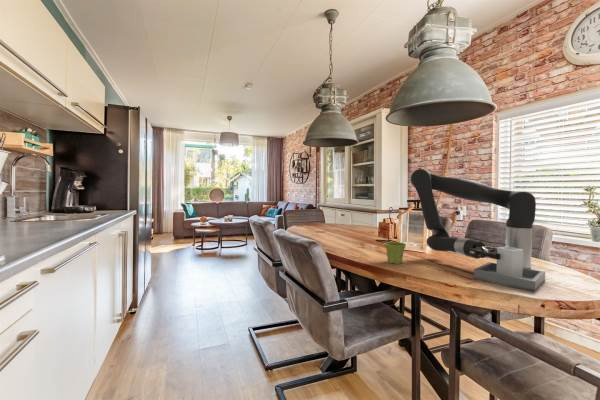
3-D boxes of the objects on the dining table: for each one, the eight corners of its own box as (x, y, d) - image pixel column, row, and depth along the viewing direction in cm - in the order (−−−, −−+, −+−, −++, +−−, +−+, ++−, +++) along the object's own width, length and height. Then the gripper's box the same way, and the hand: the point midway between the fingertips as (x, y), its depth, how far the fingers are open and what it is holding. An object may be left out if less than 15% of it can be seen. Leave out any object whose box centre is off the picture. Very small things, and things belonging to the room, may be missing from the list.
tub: (506, 275, 109) (507, 246, 109) (522, 279, 104) (523, 249, 104) (496, 276, 107) (497, 247, 107) (511, 280, 102) (512, 250, 102)
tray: (488, 270, 118) (488, 262, 118) (544, 281, 105) (545, 271, 105) (473, 278, 107) (473, 269, 106) (534, 292, 93) (535, 281, 93)
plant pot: (391, 265, 124) (392, 246, 124) (380, 260, 133) (380, 242, 133) (410, 264, 127) (410, 245, 126) (397, 259, 136) (397, 241, 136)
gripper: (456, 239, 119) (494, 247, 104) (481, 238, 124) (521, 245, 108) (456, 257, 119) (493, 267, 104) (480, 255, 124) (520, 264, 109)
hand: (507, 256), depth 106 cm, fingers open, 8 cm apart
